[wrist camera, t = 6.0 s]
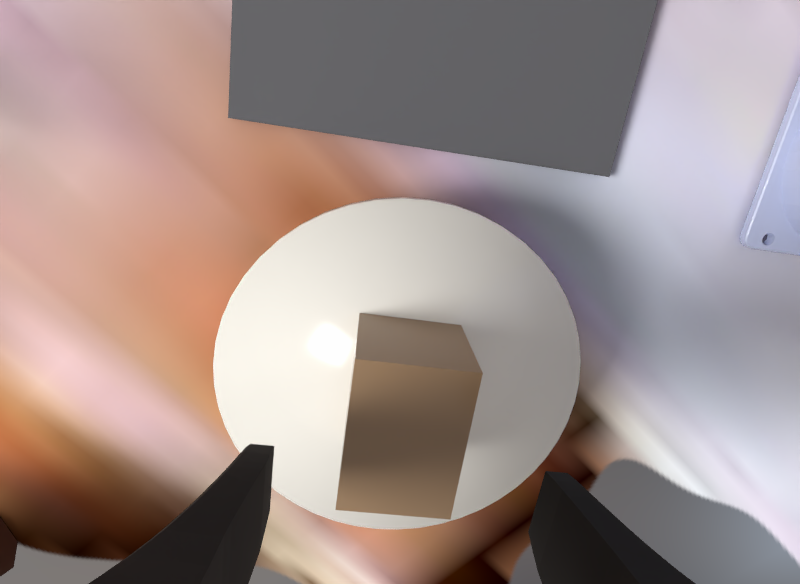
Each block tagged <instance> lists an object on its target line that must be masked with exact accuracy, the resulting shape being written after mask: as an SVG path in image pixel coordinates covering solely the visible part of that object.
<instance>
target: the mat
mask: <svg viewBox="0 0 800 584" xmlns="http://www.w3.org/2000/svg"><path fill="white" fill-rule="evenodd" d="M657 2H658V0H232V27H231V55H230V83H229V111H228V118H233V119H240V120H246V121H252V122H259V123H265V124H272V125H278V126H285V127H291V128H297V129H304V130H310V131H317V132H323V133H330V134H336V135H343V136H349V137H355V138H362V139H368V140H375V141H381V142H388V143H394V144H400V145H407V146H413V147H420V148H426V149H433V150H439V151H446V152H452V153H458V154H465V155H471V156H478V157H484V158H491V159H497V160H503V161H510V162H516V163H523V164H529V165H536V166H542V167H549V168H555V169H561V170H568V171H574V172H581V173H587V174H594V175H600V176H606V177H609V176H610V172H611V169H612V165H613V162H614V158H615V154H616V151H617V147H618V143H619V140H620V136H621V132H622V129H623V125H624V122H625V118H626V114H627V111H628V107H629V103H630V100H631V96H632V93H633V89H634V85H635V82H636V78H637V74H638V71H639V67H640V63H641V60H642V56H643V53H644V49H645V45H646V42H647V38H648V34H649V31H650V27H651V23H652V20H653V16H654V13H655V9H656V5H657Z"/></svg>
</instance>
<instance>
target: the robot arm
mask: <svg viewBox="0 0 800 584" xmlns="http://www.w3.org/2000/svg"><path fill="white" fill-rule="evenodd" d="M766 234H767V239H766V240H765V241H764V242H762V239H763V237H764V236H765V235H766ZM740 242H741V244H742V245H743V246H745V247H748V248H751V249H757V250H764V251H771V252H778V253H785V254H791V255H798V256H800V75H799V78H798V81H797V84H796V86H795V89H794V92H793V94H792V97H791V100H790V102H789V105H788V108H787V111H786V113H785V116H784V119H783V121H782V124H781V127H780V129H779V132H778V135H777V138H776V140H775V143H774V146H773V148H772V151H771V154H770V156H769V159H768V162H767V165H766V167H765V170H764V173H763V175H762V178H761V181H760V183H759V186H758V189H757V192H756V194H755V197H754V200H753V202H752V205H751V208H750V210H749V213H748V216H747V219H746V221H745V224H744V227H743V229H742V232H741V235H740ZM273 458H274V446H270V445H259V444H249V445H248V446H246V447H245V448H244V450H243V451H242V452H241V453H240V454H239V455H238V457H237V458H236V459H235V460H234V461H233V462H232V463H231V464H230V466H229V467H228V468H227V469H226V470H225V471H224V472H223V473H222V474H221V475H220V476H219V477H218V478H217V479H216V480H215V481H214V482H213V483H212V484H211V485H210V486H209V487H208V488H207V489H206V490H205V491H204V492H203V493H202V494H201V495H200V496H199V497H198V498H197V499H196V500H195V501H194V502H193V503H192V504H191V505H190V506H189V507H187V508H186V509H185V510H184V511H183V512H182V513H181V514H180V515H179V516H177V517H176V518H175V519H174V520H173V521H172V522H171V523H170V524H168V525H167V526H166V527H165V528H164V529H163V530H161V531H160V532H159V533H158V534H157V535H155V536H154V537H153V538H152V539H150V540H149V541H148V542H146V543H145V544H144V545H143V546H141V547H140V548H139V549H137V550H136V551H135V552H133V553H132V554H131V555H129V556H128V557H127V558H125V559H124V560H122V561H121V562H120V563H118V564H117V565H115V566H114V567H112V568H111V569H110V570H108V571H107V572H105V573H104V574H102V575H101V576H99V577H98V578H96V579H95V580H94V581H92V582H90V583H89V584H248V583H249V580H250V577H251V574H252V572H253V569H254V566H255V563H256V560H257V558H258V555H259V552H260V548H261V544H262V540H263V536H264V532H265V528H266V524H267V520H268V515H269V511H270V499H271V485H272V472H273ZM529 536H530V541H531V545H532V549H533V554H534V557H535V562H536V565H537V570H538V573H539V576H540V579H541V581H542V584H695V583H694V582H693V581H691V580H690V579H688V578H687V577H686V576H685V575H683V574H682V573H681V572H679V571H678V570H677V569H676V568H674V567H673V566H672V565H671V564H669V563H668V562H667V561H666V560H664V559H663V558H662V557H661V556H660V555H658V554H657V553H656V552H655V551H654V550H653V549H651V548H650V547H649V546H648V545H646V544H645V543H644V542H643V541H642V540H641V539H640V538H639V537H637V536H636V535H635V534H634V533H633V532H632V531H630V530H629V529H628V528H627V527H626V526H625V525H624V524H623V523H622V522H621V521H620V520H618V519H617V518H616V517H615V516H614V515H613V514H612V513H611V512H610V511H609V510H608V509H606V508H605V507H604V506H603V505H602V504H601V503H600V502H599V501H598V500H597V499H596V498H595V497H593V496H592V495H591V494H590V493H589V492H588V491H587V490H586V489H585V488H584V487H583V486H582V485H581V484H579V483H578V482H577V481H576V480H575V479H574V478H573V477H571V476H570V475H569V474H568V473H559V472H549V471H546V472H545V475H544V479H543V482H542V486H541V489H540V493H539V496H538V500H537V503H536V507H535V510H534V514H533V517H532V521H531V524H530V528H529Z"/></svg>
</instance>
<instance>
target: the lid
mask: <svg viewBox="0 0 800 584" xmlns="http://www.w3.org/2000/svg"><path fill="white" fill-rule="evenodd" d="M580 365H581V357H580V342H579V336H578V331H577V327H576V322H575V318H574V315H573V313H572V310H571V307H570V305H569V302H568V299H567V297H566V295H565V293H564V292H563V290H562V288H561V286H560V284H559V283H558V281H557V279H556V277H555V276H554V275H553V273H552V272H551V271H550V270H549V268H548V267H547V266H546V264H545V263H544V262H543V261H542V259H541V258H540V257H539V256H538V255H537V254H536V253H535V252H534V251H532V250H531V249H530V248H529V247H528V246H527V245H526V244H525V243H524V242H523V241H522V240H520V239H519V238H517V237H516V236H515V235H513V234H512V233H510V232H509V231H508V230H506V229H505V228H503V227H502V226H501V225H499V224H497V223H495V222H494V221H492V220H490V219H488V218H486V217H484V216H482V215H480V214H478V213H476V212H473V211H471V210H468V209H465V208H462V207H459V206H457V205H454V204H450V203H445V202H440V201H436V200H431V199H423V198H410V197H393V198H376V199H371V200H365V201H360V202H355V203H350V204H347V205H344V206H341V207H338V208H335V209H332V210H329V211H326V212H324V213H322V214H320V215H318V216H316V217H314V218H312V219H310V220H308V221H306V222H304V223H302V224H300V225H299V226H298V227H296V228H295V229H293V230H292V231H290V232H289V233H287V234H286V235H284V236H283V237H281V238H280V239H279V240H278V241H277V242H276V243H275V244H274V245H273V246H271V247H270V248H269V249H268V250H267V251H266V252H265V253H264V254H263V255H262V256H261V257H260V258H259V259H258V260H257V261H256V262H255V264H254V265H253V266H252V267H251V268H250V270H249V271H248V272H247V273H246V274H245V276H244V277H243V278H242V280H241V282H240V283H239V285H238V286H237V288H236V290H235V291H234V293H233V295H232V296H231V298H230V300H229V303H228V305H227V307H226V310H225V312H224V314H223V317H222V319H221V323H220V326H219V330H218V334H217V338H216V342H215V352H214V361H213V370H214V387H215V392H216V398H217V403H218V407H219V410H220V413H221V416H222V419H223V422H224V425H225V427H226V429H227V431H228V433H229V435H230V437H231V439H232V441H233V443H234V445H235V447H236V448H237V449H238V451H239V452H240V453H241V452H242V451H243V450H244V448H245V447H246V446H248V445H249V444H259V445H270V446H274V458H273V472H272V485H271V487H272V488H273V489H274V490H275V491H277V492H278V493H279V494H281V495H282V496H284V497H285V498H287V499H288V500H290V501H292V502H293V503H295V504H296V505H298V506H300V507H302V508H304V509H306V510H308V511H310V512H312V513H314V514H317V515H320V516H322V517H325V518H328V519H331V520H333V521H337V522H341V523H345V524H349V525H353V526H359V527H367V528H374V529H409V528H420V527H426V526H431V525H437V524H441V523H445V522H448V521H452V520H455V519H458V518H461V517H464V516H466V515H469V514H471V513H474V512H476V511H478V510H481V509H482V508H484V507H486V506H488V505H490V504H492V503H494V502H495V501H497V500H499V499H500V498H502V497H503V496H505V495H506V494H508V493H509V492H510V491H512V490H513V489H515V488H516V487H517V486H518V485H520V484H521V483H522V482H523V481H524V480H525V479H526V478H527V477H529V476H530V475H531V474H532V473H533V472H534V471H535V470H536V468H537V467H538V466H539V465H540V464H541V463H542V462H543V461H544V460H545V458H546V457H547V456H548V454H549V453H550V451H551V450H552V448H553V447H554V446H555V444H556V443H557V441H558V440H559V438H560V436H561V434H562V432H563V430H564V428H565V426H566V424H567V422H568V420H569V417H570V414H571V411H572V409H573V406H574V403H575V399H576V395H577V390H578V385H579V378H580Z"/></svg>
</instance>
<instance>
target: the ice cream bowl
mask: <svg viewBox="0 0 800 584" xmlns="http://www.w3.org/2000/svg"><path fill="white" fill-rule="evenodd" d="M17 543H18V542H17V540H16V539H15V537H14V536H13V535H12V533H11V532H10V530H9V529H8V527H7V526H6V525H5V523H4V522H3V520H2V519H1V517H0V576H2V575H3V574H5V573H6V572H7V571H9V570H10V569H11V568H13V567H14V561H15V554H16V549H17Z"/></svg>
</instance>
